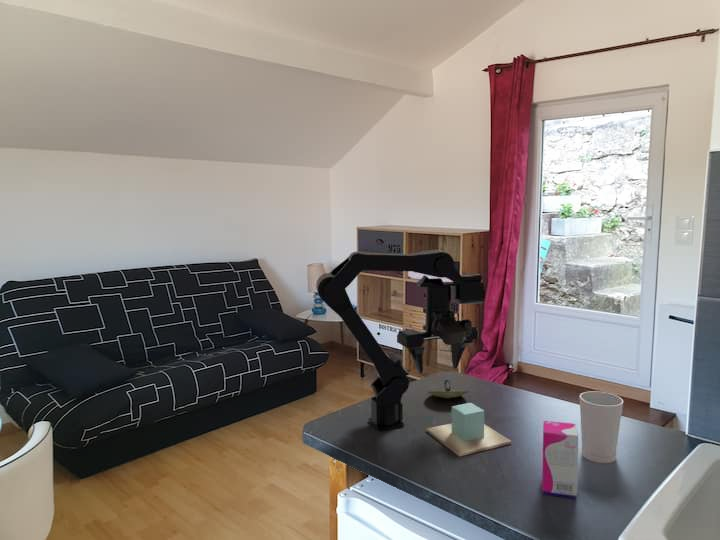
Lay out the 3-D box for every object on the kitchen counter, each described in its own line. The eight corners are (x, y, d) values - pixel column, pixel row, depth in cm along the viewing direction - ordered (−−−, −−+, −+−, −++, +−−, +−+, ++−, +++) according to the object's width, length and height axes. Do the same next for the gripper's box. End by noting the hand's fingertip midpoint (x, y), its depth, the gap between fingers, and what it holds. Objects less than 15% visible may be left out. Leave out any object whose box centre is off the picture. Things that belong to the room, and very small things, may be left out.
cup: (602, 469, 102) (604, 409, 101) (568, 451, 109) (570, 395, 108) (629, 459, 106) (632, 401, 104) (595, 443, 113) (597, 388, 111)
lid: (431, 407, 133) (431, 388, 133) (424, 393, 143) (424, 375, 143) (473, 406, 134) (473, 387, 133) (463, 392, 144) (463, 374, 143)
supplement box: (575, 482, 98) (577, 422, 96) (577, 499, 92) (579, 436, 91) (541, 477, 100) (543, 419, 98) (541, 494, 94) (543, 432, 92)
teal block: (464, 441, 113) (464, 414, 112) (451, 432, 118) (451, 406, 117) (484, 437, 115) (484, 410, 114) (470, 428, 120) (470, 402, 119)
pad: (459, 456, 108) (459, 453, 108) (426, 431, 120) (426, 428, 120) (511, 443, 113) (511, 441, 113) (475, 420, 125) (475, 418, 125)
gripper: (419, 316, 111) (419, 387, 114) (493, 307, 118) (492, 375, 120) (395, 306, 122) (396, 372, 124) (465, 299, 129) (464, 362, 131)
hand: (438, 370), depth 124 cm, fingers open, 9 cm apart
